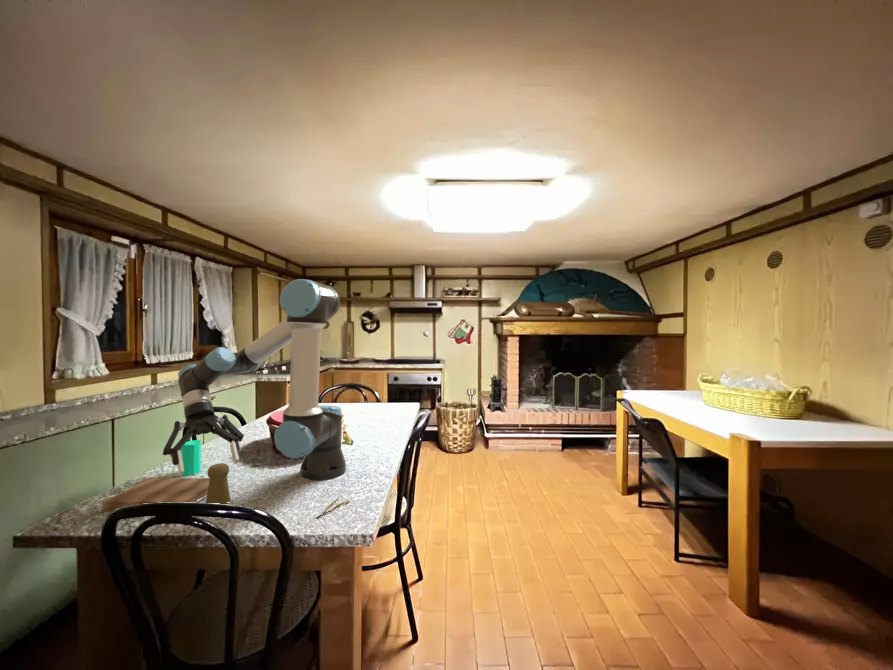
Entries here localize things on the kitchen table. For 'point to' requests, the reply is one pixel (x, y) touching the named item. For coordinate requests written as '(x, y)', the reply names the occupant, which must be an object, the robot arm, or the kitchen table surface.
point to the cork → (218, 484)
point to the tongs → (331, 509)
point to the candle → (191, 457)
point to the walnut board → (160, 492)
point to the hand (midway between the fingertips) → (210, 467)
